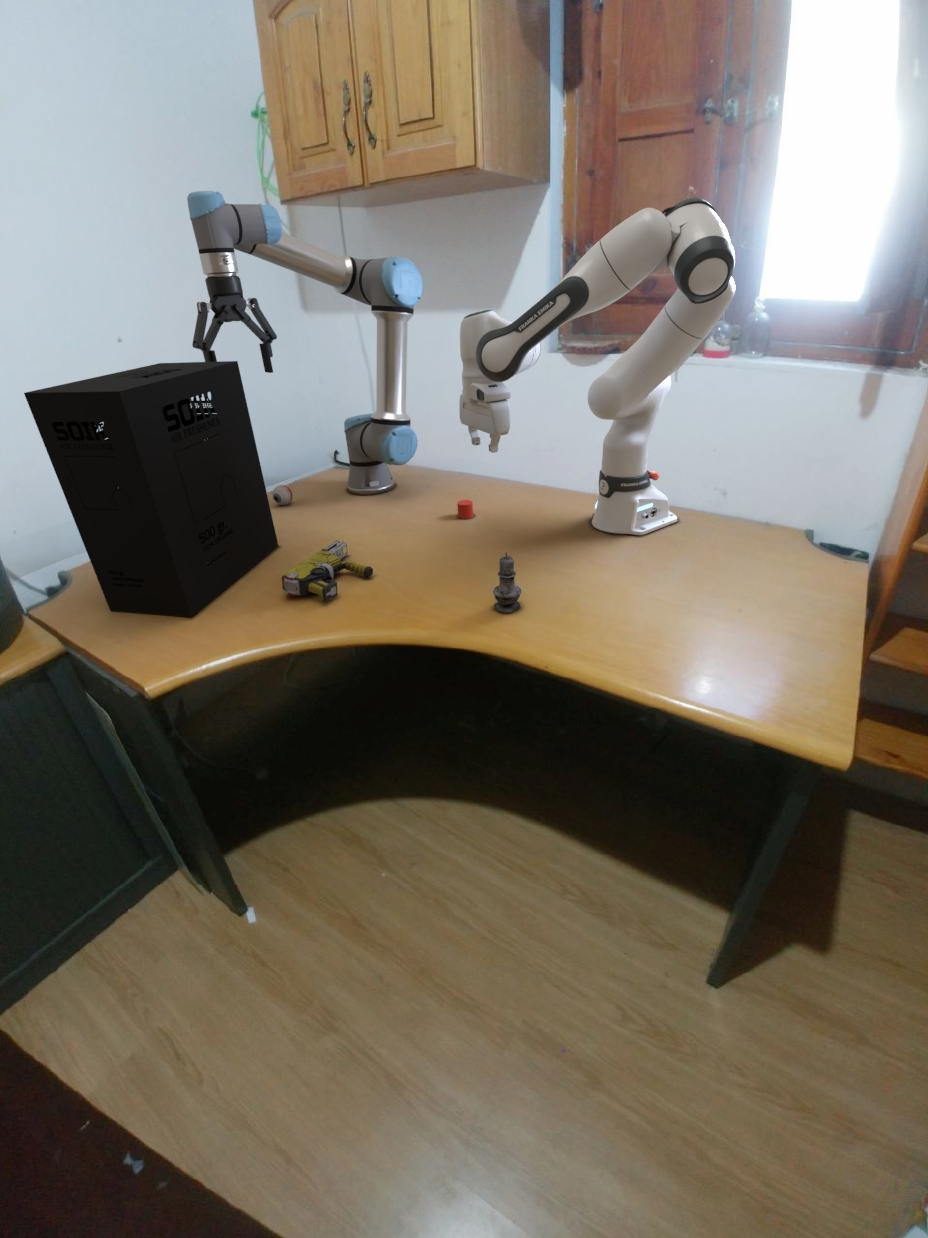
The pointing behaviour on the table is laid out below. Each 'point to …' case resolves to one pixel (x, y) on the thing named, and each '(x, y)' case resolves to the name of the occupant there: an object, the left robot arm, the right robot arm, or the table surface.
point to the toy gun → (321, 572)
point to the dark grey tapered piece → (507, 586)
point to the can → (465, 509)
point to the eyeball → (282, 495)
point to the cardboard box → (160, 481)
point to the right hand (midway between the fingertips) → (484, 448)
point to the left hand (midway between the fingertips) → (244, 376)
